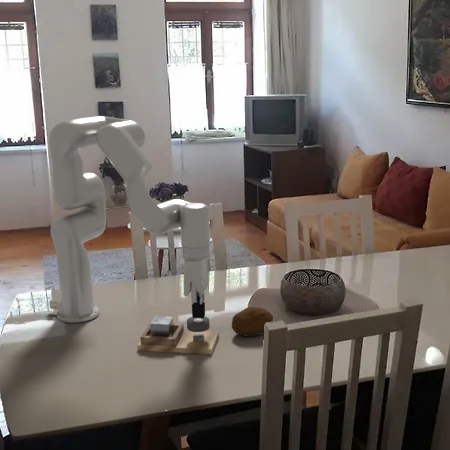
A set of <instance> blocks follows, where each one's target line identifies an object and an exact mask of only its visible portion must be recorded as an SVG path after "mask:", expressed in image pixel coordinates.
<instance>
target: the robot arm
mask: <svg viewBox="0 0 450 450" xmlns="http://www.w3.org/2000/svg"><path fill="white" fill-rule="evenodd" d="M145 141H146V136H145V131H144V130H143V127H142V126H141V125H140V124H139V123H138V122H136V121H133V120H131V119H124V118H117V117H111V116H106V115H105V116H104V115H103V116H102V115H96V116H95V115H94V116H89V117H77V118H71V119H67V120H63V121H61V122H59V123H57V124H56V125H54V126H53V127H52V129H51V131H50V132H49V137H48V147H49V153H50V157H51V163H52V181H53V182H52V185H53V197H54V202H55V204H56V206H57V208H59V209H60V210H63V211H70V210H75V211H71V212H69V213H65V214H62V215H60V216H58V217H56V219H55V220H54V221H53V222H52V223H51V225H50V236H51V239H52V242H53V246H54V249H55V254H56V256H55V257H56V265H57V272H58V274H57V275H58V284H59V285H58V286H59V295H60V299H59V300H57V299H51V300H49V309H52V310H55V309H56V310H58V311H57V312H56V317H57V319H58V320H59V321H61V322H63V323H69V324H75V323H76V324H77V323H83V322H89V321H91V320H93V319H95V318H96V317H98V316H99V315H100V307H98V306H97V305H96V304H95V303H94V292H93V291H94V290H93V281H92V280H93V279H92V278H93V277H92V267H91V266H92V265H91V258H90V254H89V252H88V251H87V249H86V248H85V245H84V243H87V242H88V241H90V240H93V239H97V238H98V237H100V236H101V235H102V234H104V231H105V229H106V226H107V207H106V205H107V203H106V200H107V199H106V189H105V186H104V183H103V180H102V178H101V177H100V176H99V175H97V174H95V173H93V172H84V161H83V159H82V156H81V155H80V153H79V151H80V150H86V149H91V148H96V147H98V148H99V149H100V150H101V152H102V153H103V155H104V156H105V157H106V158H107V160H108V161H109V162H110V164H111V165H112V166H113V168H114V169H115V170H116V171H117V173H118V175H119V176H120V177H121V178H122V179H123V181H124V184H125V195H126V201H127V204H128V207H129V209H130V211H131V213H132V214H133V216H134V217H135V218H136V220H137V221H138V222H139V223H140V225H141V226H142V227H143V228H144V229H145V230H146V231H147V232H148V233H150V234H153V235H155V236H156V235H158V236H160V235H163V234H165V233H168V232H171V231H172V230H175V229H179V228H180V242H181V243H180V244H181V246H180V247H181V258H182V259H183V260H184V262H183V263H184V264H183V265H184V266H183V295H184V297H188V296H189V295H190V297H191V301H190V302H191V315H192V316H191V317H193V318H204V317H206V302H205V292H206V290H207V288H208V285H209V264H208V263H209V262H208V261H209V260H208V259H210V258H211V257H212V254H211V253H212V251H211V250H212V249H211V224H210V223H211V222H210V208H209V206H208V205H206V204H205V203H202V202H190V201H186V200H183V199H179V198H174V199H173V198H172V199H169V200H166V201H163V202H160V203H156V202H155V201H154V200H153V198H152V197H151V195H150V194H149V192H148V190H147V186H146V178H147V177H148V175H149V174H150V172H151V170H152V168H153V167H152V166H153V165H152V163H151V161H150V160H149V158H148V157H147V156H146V154H145V153H144V152H143V150H142V149H141V148H142V147H143V146H144V145H145ZM76 209H79V210H76Z"/></svg>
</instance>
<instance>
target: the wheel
mask: <svg viewBox="0 0 450 450" xmlns="http://www.w3.org/2000/svg"><path fill="white" fill-rule="evenodd" d="M186 324H187V325H186V330H189V331H192V332H203V331H209V329H210V328H211V327H210V326H211V325H210V319H209V317H207V316H204V318H193V317H192V316H190V317H188V318H187V319H186Z"/></svg>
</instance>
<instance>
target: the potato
mask: <svg viewBox="0 0 450 450" xmlns="http://www.w3.org/2000/svg"><path fill="white" fill-rule="evenodd" d="M231 320H232V321H231V329H232V330H233V332H234V333H236V334H238V335H239V336H242V337H243V336H244V337H247V336H248V337H252V336H257V335H262V334H264V333H265V332H264V324H265V323H266V322H271V321H272V322H273V321H274V315H273V314H272V313H271V312H270V311H269V310H267V309H265V308H263V307H261V306H248V307H246V308H244V309H243V310H241V311H239V312H236V313H235V314H234V316H233V317H232V319H231Z"/></svg>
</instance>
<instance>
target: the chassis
mask: <svg viewBox="0 0 450 450" xmlns="http://www.w3.org/2000/svg"><path fill="white" fill-rule="evenodd" d="M151 322H152V321H150V322H149V324H148V325H147V327H146V328H145V330H144V331H143V333H142V334H141V335H140V340H139V342H138V343H137V344H136V347H137V351H143V352H156V353H157V352H158V353H159V352H161V353H174V352H175V353H176V354H190V353H197V354H196V355H207V354H210V355H213V352H214V349H215V348H216V345H217V342H218V340H219V335H220V334H219V332H220V331H213V330H206V331H203V332H192V331H189V330H188V329H184V323H173V330H174V334H173V336H172V337H158V336H151V327H150V323H151ZM177 352H178V353H177ZM179 352H180V353H179Z"/></svg>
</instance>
